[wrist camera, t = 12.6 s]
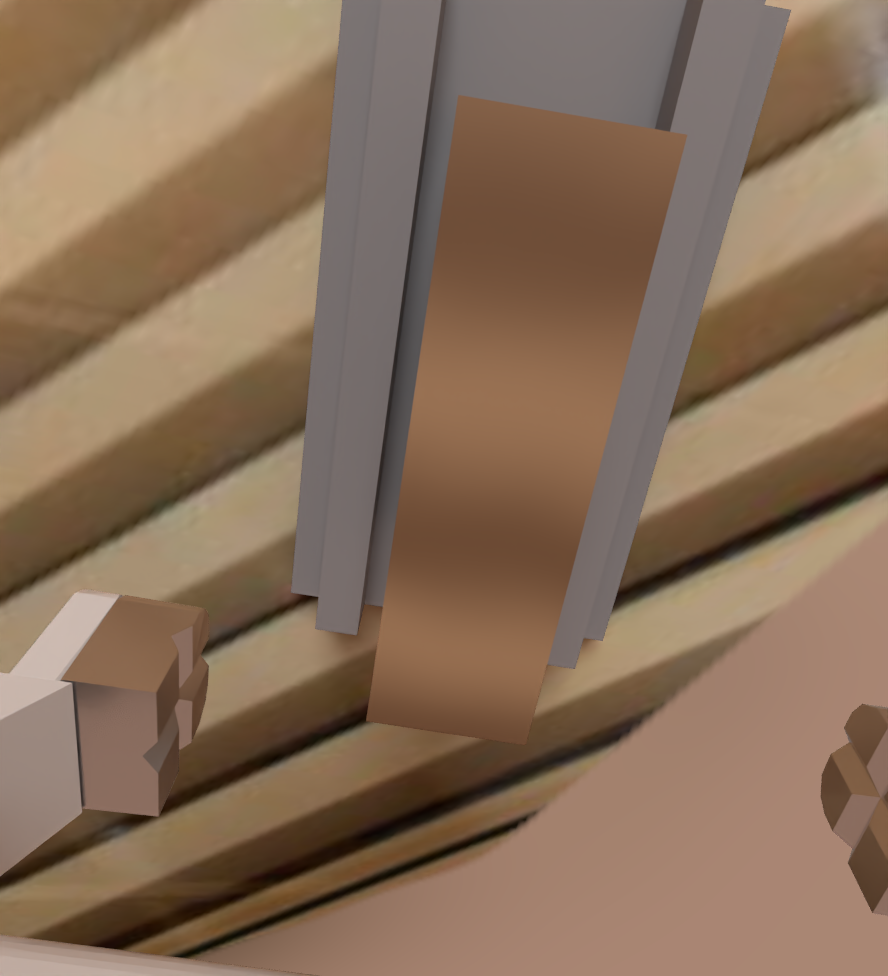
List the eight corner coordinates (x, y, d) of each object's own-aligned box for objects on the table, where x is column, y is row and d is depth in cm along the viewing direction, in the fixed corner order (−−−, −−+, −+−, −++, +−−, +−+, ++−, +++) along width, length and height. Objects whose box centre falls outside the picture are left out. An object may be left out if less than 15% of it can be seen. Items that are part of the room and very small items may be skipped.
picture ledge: (356, -59, 22) (335, -87, 19) (772, 16, 23) (820, -1, 19) (299, 571, 31) (279, 623, 28) (597, 618, 32) (610, 674, 28)
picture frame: (467, 101, 23) (458, 94, 14) (615, 127, 23) (704, 137, 14) (402, 528, 29) (366, 721, 20) (519, 547, 29) (537, 746, 20)
